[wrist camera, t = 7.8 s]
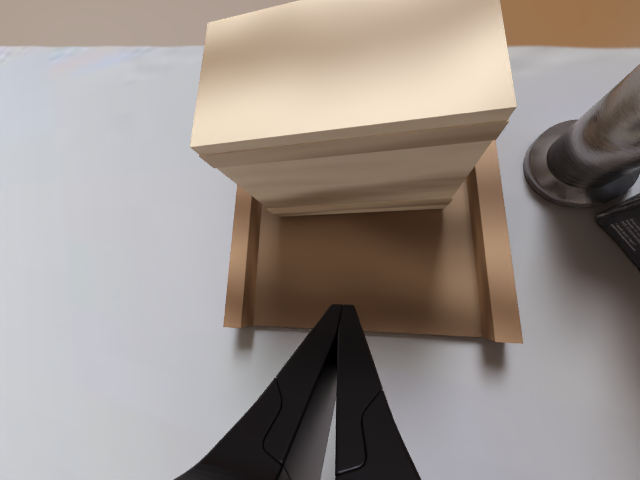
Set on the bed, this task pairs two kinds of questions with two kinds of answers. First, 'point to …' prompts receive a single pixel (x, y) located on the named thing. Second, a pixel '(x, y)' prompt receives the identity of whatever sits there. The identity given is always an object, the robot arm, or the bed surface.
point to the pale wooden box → (353, 102)
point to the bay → (381, 265)
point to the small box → (624, 225)
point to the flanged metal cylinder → (590, 151)
